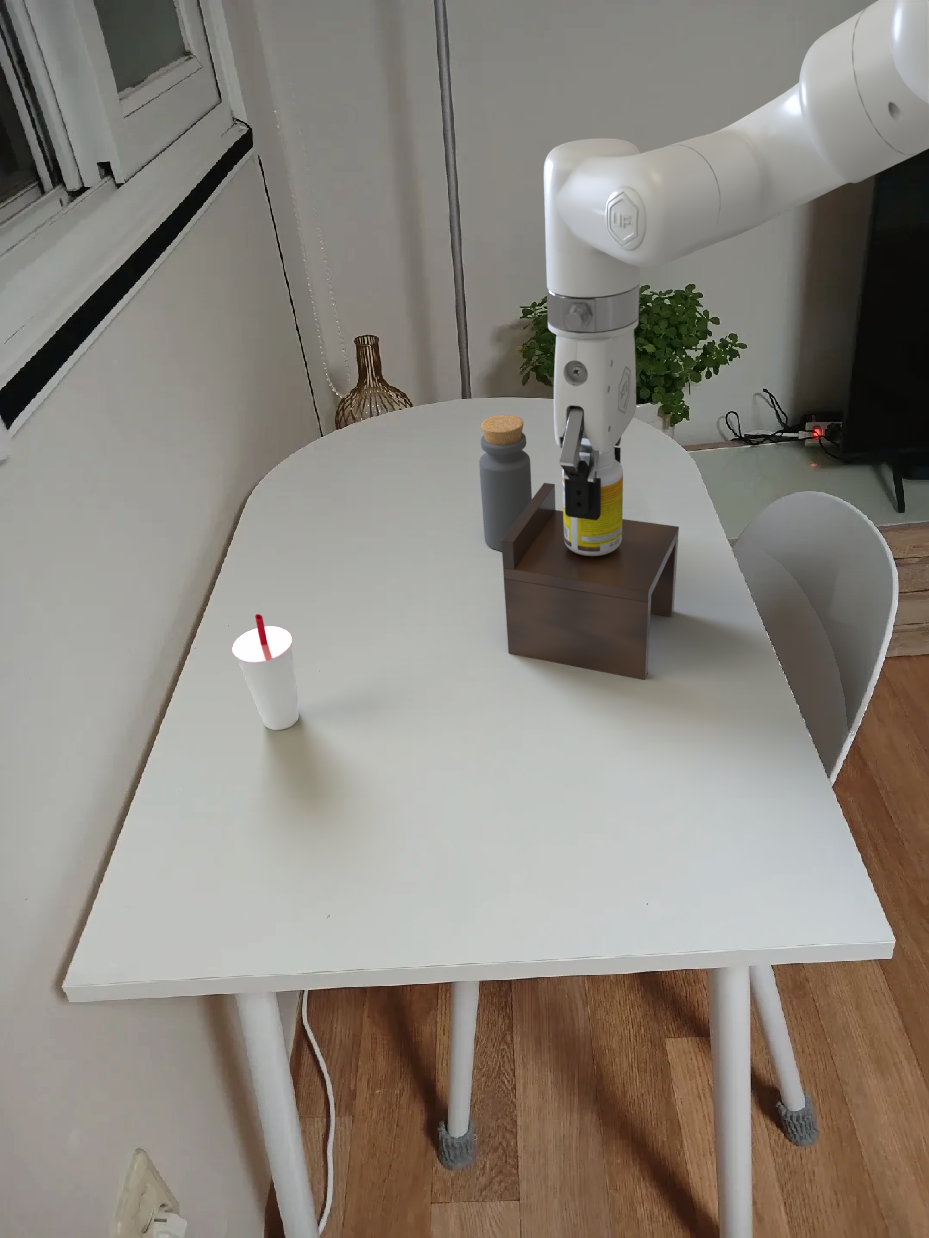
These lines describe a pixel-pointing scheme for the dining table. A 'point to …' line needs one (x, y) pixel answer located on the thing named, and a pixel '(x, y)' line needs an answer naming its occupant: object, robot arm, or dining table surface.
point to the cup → (269, 673)
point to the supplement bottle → (608, 528)
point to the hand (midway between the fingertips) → (593, 499)
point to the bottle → (503, 476)
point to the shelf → (585, 591)
